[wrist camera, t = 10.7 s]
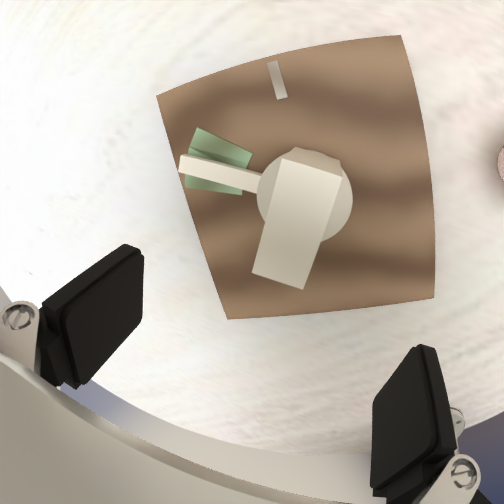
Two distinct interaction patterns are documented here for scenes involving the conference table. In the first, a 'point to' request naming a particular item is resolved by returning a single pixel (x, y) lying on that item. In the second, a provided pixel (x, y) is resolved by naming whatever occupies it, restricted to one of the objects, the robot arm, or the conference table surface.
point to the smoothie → (501, 163)
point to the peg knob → (287, 207)
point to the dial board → (329, 143)
